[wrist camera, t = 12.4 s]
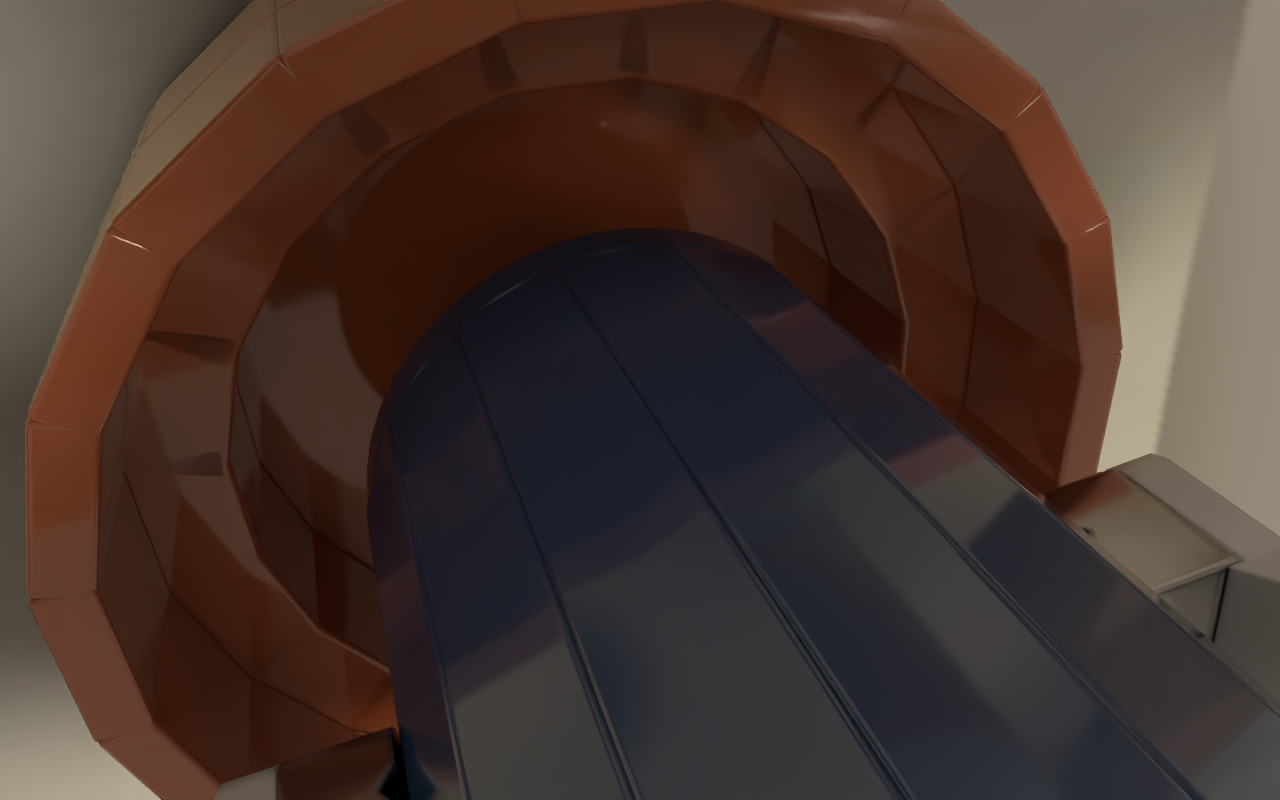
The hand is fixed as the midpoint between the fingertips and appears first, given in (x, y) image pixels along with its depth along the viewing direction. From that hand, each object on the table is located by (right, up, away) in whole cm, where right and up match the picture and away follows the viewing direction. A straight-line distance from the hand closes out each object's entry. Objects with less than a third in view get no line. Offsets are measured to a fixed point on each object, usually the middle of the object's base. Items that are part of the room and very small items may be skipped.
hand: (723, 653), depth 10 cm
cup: (-1, +2, +3) cm, 4 cm away
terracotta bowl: (-2, +3, +6) cm, 7 cm away
